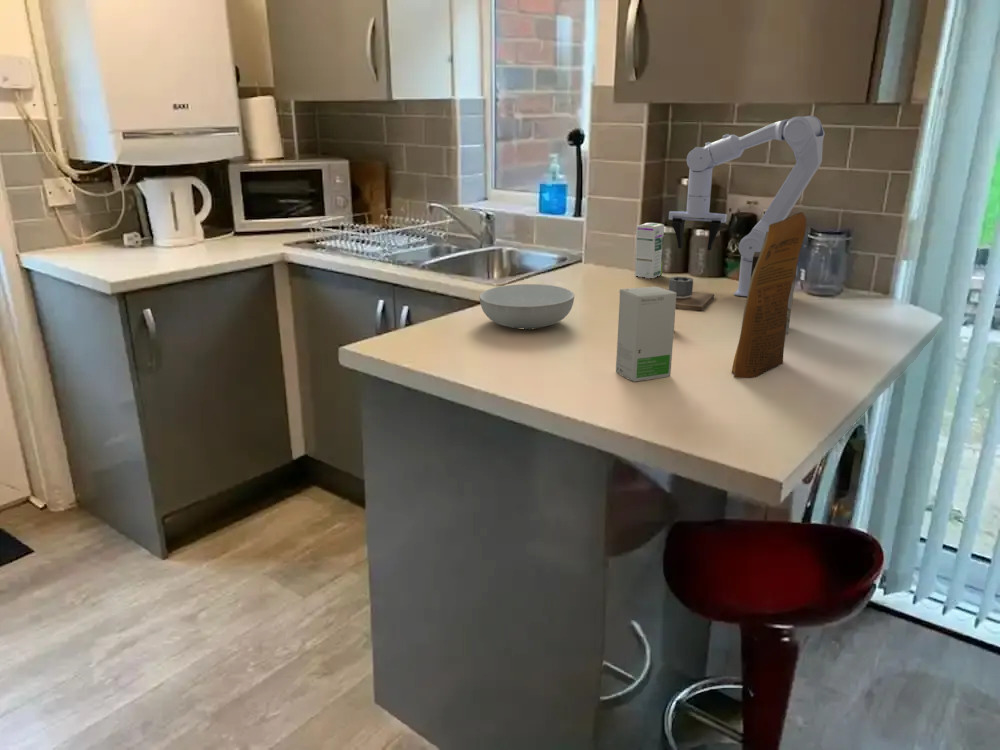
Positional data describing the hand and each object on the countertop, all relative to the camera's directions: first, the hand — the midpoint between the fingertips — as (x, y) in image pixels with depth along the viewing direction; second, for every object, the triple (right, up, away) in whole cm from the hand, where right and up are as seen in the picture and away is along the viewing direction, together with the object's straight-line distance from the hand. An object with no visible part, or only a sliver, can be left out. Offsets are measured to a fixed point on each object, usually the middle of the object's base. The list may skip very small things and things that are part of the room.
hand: (694, 248), depth 205 cm
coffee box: (+7, -23, -35) cm, 43 cm away
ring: (-7, -13, -13) cm, 20 cm away
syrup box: (-9, -5, +15) cm, 19 cm away
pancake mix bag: (-3, -32, -60) cm, 68 cm away
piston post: (-7, -15, -12) cm, 21 cm away
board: (-7, -15, -12) cm, 21 cm away
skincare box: (-25, -33, -63) cm, 75 cm away
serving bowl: (-45, -22, -30) cm, 59 cm away
